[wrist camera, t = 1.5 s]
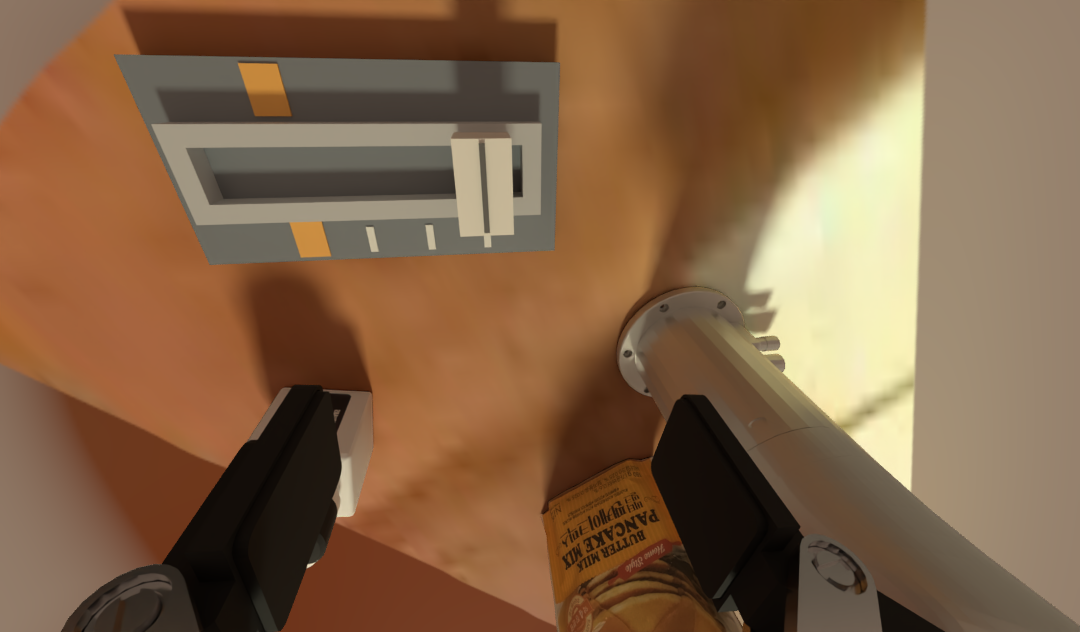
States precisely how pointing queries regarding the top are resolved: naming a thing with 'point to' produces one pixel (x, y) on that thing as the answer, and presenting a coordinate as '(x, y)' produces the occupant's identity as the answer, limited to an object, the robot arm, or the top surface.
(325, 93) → the console
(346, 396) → the container
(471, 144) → the fader
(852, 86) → the top surface
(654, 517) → the pancake mix bag
